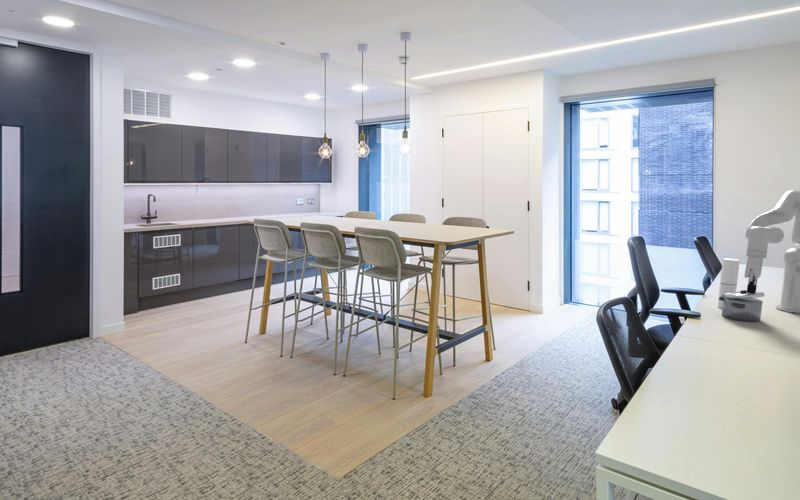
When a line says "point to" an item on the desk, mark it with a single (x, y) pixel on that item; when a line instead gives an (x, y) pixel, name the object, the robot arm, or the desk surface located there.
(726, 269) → the cylindrical container
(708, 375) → the desk surface
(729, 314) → the pot
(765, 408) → the desk surface
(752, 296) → the lid
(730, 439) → the desk surface
